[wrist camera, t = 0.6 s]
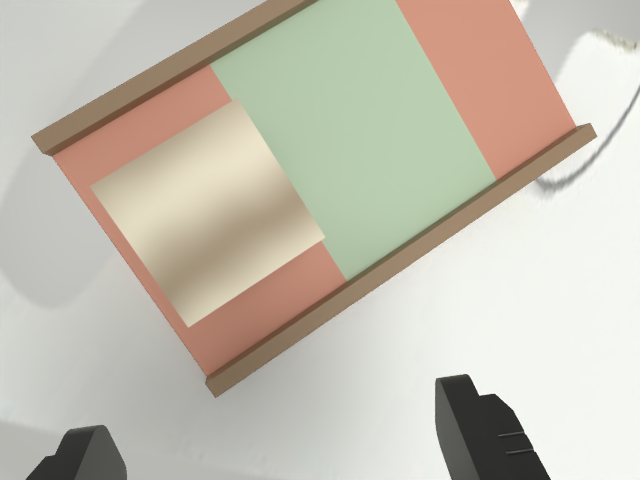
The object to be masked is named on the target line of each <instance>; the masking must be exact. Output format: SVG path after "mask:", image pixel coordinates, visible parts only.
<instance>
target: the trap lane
mask: <svg viewBox="0 0 640 480" xmlns="http://www.w3.org/2000/svg"><path fill="white" fill-rule="evenodd" d="M236 98H238V100H239V101H240V103H241V104H242V106H243V108H244V109H245V111H246V112H247V114H248V116H249V117H250V119H251V120H252V122H253V123H254V125H255V127H256V128H257V130H258V131H259V133H260V134H261V136H262V138H263V139H264V141H265V142H266V144H267V146H268V147H269V149H270V150H271V152H272V153H273V155H274V157H275V158H276V160H277V161H278V163H279V164H280V166H281V168H282V169H283V171H284V172H285V174H286V176H287V177H288V179H289V180H290V182H291V183H292V185H293V187H294V188H295V190H296V191H297V193H298V194H299V196H300V198H301V199H302V201H303V202H304V204H305V206H306V207H307V209H308V210H309V212H310V213H311V215H312V217H313V218H314V220H315V221H316V223H317V225H318V226H319V228H320V229H321V231H322V232H323V234H324V236H325V238H324V239H322V240H321V241H319V242H318V243H316V244H315V245H313V246H312V247H310V248H309V249H307V250H306V251H304V252H303V253H301V254H299V255H298V256H296V257H295V258H293V259H292V260H290V261H289V262H287V263H286V264H284V265H283V266H281V267H280V268H278V269H277V270H275V271H274V272H272V273H271V274H269V275H268V276H266V277H265V278H263V279H262V280H260V281H258V282H257V283H255V284H254V285H252V286H251V287H249V288H248V289H246V290H245V291H243V292H242V293H240V294H239V295H237V296H236V297H234V298H233V299H231V300H230V301H228V302H227V303H225V304H224V305H222V306H220V307H219V308H217V309H216V310H214V311H213V312H211V313H210V314H208V315H207V316H205V317H204V318H202V319H201V320H199V321H198V322H196V323H195V324H193V325H192V326H190V327H189V328H188V327H187V325H186V324H185V322H184V321H183V319H182V318H181V317H180V315H179V314H178V312H177V311H176V309H175V308H174V307H173V305H172V304H171V302H170V301H169V299H168V298H167V297H166V295H165V294H164V292H163V291H162V289H161V288H160V287H159V285H158V284H157V282H156V281H155V279H154V278H153V277H152V275H151V274H150V272H149V271H148V269H147V268H146V267H145V265H144V264H143V262H142V261H141V259H140V258H139V257H138V255H137V254H136V252H135V251H134V249H133V248H132V247H131V245H130V244H129V242H128V241H127V239H126V238H125V237H124V235H123V234H122V232H121V231H120V229H119V228H118V227H117V225H116V224H115V222H114V221H113V219H112V218H111V216H110V215H109V214H108V212H107V211H106V209H105V208H104V206H103V205H102V204H101V202H100V201H99V199H98V198H97V196H96V195H95V194H94V192H93V191H92V189H91V188H90V186H91V185H93V184H94V183H96V182H98V181H99V180H101V179H103V178H104V177H106V176H108V175H109V174H111V173H113V172H114V171H116V170H118V169H119V168H121V167H123V166H124V165H126V164H128V163H129V162H131V161H133V160H134V159H136V158H138V157H139V156H141V155H143V154H144V153H146V152H148V151H149V150H151V149H153V148H154V147H156V146H158V145H159V144H161V143H163V142H165V141H166V140H168V139H170V138H171V137H173V136H175V135H176V134H178V133H180V132H181V131H183V130H185V129H186V128H188V127H190V126H191V125H193V124H195V123H196V122H198V121H200V120H201V119H203V118H205V117H206V116H208V115H210V114H211V113H213V112H215V111H216V110H218V109H220V108H221V107H223V106H225V105H226V104H228V103H230V102H231V101H233V100H235V99H236ZM596 137H597V135H596V133H595V131H594V129H593V127H592V125H591V123H588V124H584V125H581V126H577V127H576V125H575V123H574V121H573V120H572V118H571V116H570V114H569V112H568V110H567V108H566V106H565V104H564V103H563V101H562V99H561V97H560V95H559V93H558V91H557V89H556V88H555V86H554V84H553V82H552V80H551V78H550V76H549V74H548V73H547V71H546V69H545V67H544V65H543V63H542V61H541V59H540V57H539V56H538V54H537V52H536V50H535V48H534V46H533V44H532V42H531V41H530V39H529V37H528V35H527V33H526V31H525V29H524V27H523V25H522V24H521V22H520V20H519V18H518V16H517V14H516V12H515V10H514V8H513V7H512V5H511V3H510V1H509V0H267V1H266V2H264V3H262V4H261V5H259V6H257V7H255V8H253V9H252V10H250V11H248V12H247V13H245V14H243V15H241V16H240V17H238V18H236V19H234V20H233V21H231V22H229V23H227V24H226V25H224V26H222V27H220V28H219V29H217V30H215V31H213V32H212V33H210V34H208V35H206V36H205V37H203V38H201V39H200V40H198V41H196V42H194V43H193V44H191V45H189V46H187V47H186V48H184V49H182V50H180V51H179V52H177V53H175V54H174V55H172V56H170V57H168V58H166V59H165V60H163V61H161V62H160V63H158V64H156V65H154V66H153V67H151V68H149V69H147V70H146V71H144V72H142V73H140V74H139V75H137V76H135V77H133V78H132V79H130V80H128V81H126V82H125V83H123V84H121V85H119V86H118V87H116V88H115V89H113V90H111V91H109V92H107V93H106V94H104V95H102V96H100V97H99V98H97V99H95V100H93V101H92V102H90V103H88V104H87V105H85V106H83V107H81V108H79V109H78V110H76V111H74V112H73V113H71V114H69V115H67V116H66V117H64V118H62V119H60V120H59V121H57V122H55V123H53V124H52V125H50V126H48V127H46V128H45V129H43V130H41V131H39V132H38V133H36V134H34V135H33V136H31V138H32V139H33V141H34V142H35V143H36V145H37V146H38V147H39V149H40V150H41V152H42V153H43V154H46V155H49V156H52V157H53V159H54V160H55V162H56V163H57V164H58V166H59V167H60V169H61V170H62V172H63V173H64V174H65V176H66V177H67V179H68V180H69V181H70V183H71V184H72V186H73V187H74V189H75V190H76V191H77V193H78V194H79V196H80V197H81V199H82V200H83V201H84V203H85V204H86V206H87V207H88V208H89V210H90V211H91V213H92V214H93V216H94V217H95V218H96V220H97V221H98V223H99V224H100V225H101V227H102V228H103V230H104V231H105V233H106V234H107V235H108V237H109V238H110V240H111V241H112V243H113V244H114V245H115V247H116V248H117V250H118V251H119V252H120V254H121V255H122V257H123V258H124V260H125V261H126V262H127V264H128V265H129V267H130V268H131V270H132V271H133V272H134V274H135V275H136V277H137V278H138V279H139V281H140V282H141V284H142V285H143V287H144V288H145V289H146V291H147V292H148V294H149V295H150V296H151V298H152V299H153V301H154V302H155V304H156V305H157V306H158V308H159V309H160V311H161V312H162V314H163V315H164V316H165V318H166V319H167V321H168V322H169V323H170V325H171V326H172V328H173V329H174V331H175V332H176V333H177V335H178V336H179V338H180V339H181V340H182V342H183V343H184V345H185V346H186V348H187V349H188V350H189V352H190V353H191V355H192V356H193V358H194V359H195V360H196V362H197V363H198V365H199V366H200V367H201V369H202V370H203V372H204V373H205V375H206V376H207V379H206V385H207V387H208V388H209V390H210V391H211V392H212V394H213V395H214V397H215V398H216V397H218V396H219V395H221V394H222V393H224V392H225V391H226V390H228V389H229V388H231V387H232V386H234V385H235V384H237V383H238V382H240V381H241V380H243V379H244V378H245V377H247V376H248V375H250V374H251V373H253V372H254V371H256V370H257V369H259V368H260V367H262V366H263V365H264V364H266V363H267V362H269V361H270V360H272V359H273V358H275V357H276V356H278V355H279V354H281V353H282V352H283V351H285V350H286V349H288V348H289V347H291V346H292V345H294V344H295V343H297V342H298V341H300V340H301V339H302V338H304V337H305V336H307V335H308V334H310V333H311V332H313V331H314V330H316V329H317V328H319V327H320V326H321V325H323V324H324V323H326V322H327V321H329V320H330V319H332V318H333V317H335V316H336V315H338V314H339V313H340V312H342V311H343V310H345V309H346V308H348V307H349V306H351V305H352V304H354V303H355V302H356V301H358V300H359V299H361V298H362V297H364V296H365V295H367V294H368V293H370V292H371V291H373V290H374V289H375V288H377V287H378V286H380V285H381V284H383V283H384V282H386V281H387V280H389V279H390V278H392V277H393V276H394V275H396V274H397V273H399V272H400V271H402V270H403V269H405V268H406V267H408V266H409V265H411V264H412V263H413V262H415V261H416V260H418V259H419V258H421V257H422V256H424V255H425V254H427V253H428V252H430V251H431V250H432V249H434V248H435V247H437V246H438V245H440V244H441V243H443V242H444V241H446V240H447V239H449V238H450V237H451V236H453V235H454V234H456V233H457V232H459V231H460V230H462V229H463V228H465V227H466V226H467V225H469V224H470V223H472V222H473V221H475V220H476V219H478V218H479V217H481V216H482V215H484V214H485V213H486V212H488V211H489V210H491V209H492V208H494V207H495V206H497V205H498V204H500V203H501V202H503V201H504V200H505V199H507V198H508V197H510V196H511V195H513V194H514V193H516V192H517V191H519V190H520V189H522V188H523V187H524V186H526V185H527V184H529V183H530V182H532V181H533V180H535V179H536V178H538V177H539V176H541V175H542V174H543V173H545V172H546V171H548V170H549V169H551V168H552V167H554V166H555V165H557V164H558V163H560V162H561V161H562V160H564V159H565V158H567V157H568V156H570V155H571V154H573V153H574V152H576V151H577V150H579V149H580V148H581V147H583V146H584V145H586V144H587V143H589V142H590V141H592V140H593V139H595V138H596Z"/></svg>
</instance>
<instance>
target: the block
mask: <svg viewBox="0 0 640 480" xmlns="http://www.w3.org/2000/svg"><path fill="white" fill-rule="evenodd" d="M90 188H91V189H92V191H93V192H94V194H95V195H96V196H97V198H98V199H99V201H100V202H101V204H102V205H103V206H104V208H105V209H106V211H107V212H108V214H109V215H110V216H111V218H112V219H113V221H114V222H115V224H116V225H117V227H118V228H119V229H120V231H121V232H122V234H123V235H124V237H125V238H126V239H127V241H128V242H129V244H130V245H131V247H132V248H133V249H134V251H135V252H136V254H137V255H138V257H139V258H140V259H141V261H142V262H143V264H144V265H145V267H146V268H147V269H148V271H149V272H150V274H151V275H152V277H153V278H154V279H155V281H156V282H157V284H158V285H159V287H160V288H161V289H162V291H163V292H164V294H165V295H166V297H167V298H168V299H169V301H170V302H171V304H172V305H173V307H174V308H175V309H176V311H177V312H178V314H179V315H180V317H181V318H182V319H183V321H184V322H185V324H186V325H187V327H188V328H189V327H190V326H192V325H193V324H195V323H196V322H198V321H199V320H201V319H202V318H204V317H205V316H207V315H208V314H210V313H211V312H213V311H214V310H216V309H217V308H219V307H220V306H222V305H224V304H225V303H227V302H228V301H230V300H231V299H233V298H234V297H236V296H237V295H239V294H240V293H242V292H243V291H245V290H246V289H248V288H249V287H251V286H252V285H254V284H255V283H257V282H258V281H260V280H262V279H263V278H265V277H266V276H268V275H269V274H271V273H272V272H274V271H275V270H277V269H278V268H280V267H281V266H283V265H284V264H286V263H287V262H289V261H290V260H292V259H293V258H295V257H296V256H298V255H299V254H301V253H303V252H304V251H306V250H307V249H309V248H310V247H312V246H313V245H315V244H316V243H318V242H319V241H321V240H322V239H324V238H325V236H324V234H323V232H322V231H321V229H320V228H319V226H318V225H317V223H316V221H315V220H314V218H313V217H312V215H311V213H310V212H309V210H308V209H307V207H306V206H305V204H304V202H303V201H302V199H301V198H300V196H299V194H298V193H297V191H296V190H295V188H294V187H293V185H292V183H291V182H290V180H289V179H288V177H287V176H286V174H285V172H284V171H283V169H282V168H281V166H280V164H279V163H278V161H277V160H276V158H275V157H274V155H273V153H272V152H271V150H270V149H269V147H268V146H267V144H266V142H265V141H264V139H263V138H262V136H261V134H260V133H259V131H258V130H257V128H256V127H255V125H254V123H253V122H252V120H251V119H250V117H249V116H248V114H247V112H246V111H245V109H244V108H243V106H242V104H241V103H240V101H239V100H238V98H236V99H235V100H233V101H231V102H230V103H228V104H226V105H225V106H223V107H221V108H220V109H218V110H216V111H215V112H213V113H211V114H210V115H208V116H206V117H205V118H203V119H201V120H200V121H198V122H196V123H195V124H193V125H191V126H190V127H188V128H186V129H185V130H183V131H181V132H180V133H178V134H176V135H175V136H173V137H171V138H170V139H168V140H166V141H165V142H163V143H161V144H159V145H158V146H156V147H154V148H153V149H151V150H149V151H148V152H146V153H144V154H143V155H141V156H139V157H138V158H136V159H134V160H133V161H131V162H129V163H128V164H126V165H124V166H123V167H121V168H119V169H118V170H116V171H114V172H113V173H111V174H109V175H108V176H106V177H104V178H103V179H101V180H99V181H98V182H96V183H94V184H93V185H91V186H90Z"/></svg>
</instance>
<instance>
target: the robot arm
mask: <svg viewBox="0 0 640 480" xmlns="http://www.w3.org/2000/svg"><path fill="white" fill-rule="evenodd" d="M435 423H436V431H437V436H438V440H439V444H440V447H441V450H442V453H443V456H444V459H445V462H446V465H447V468H448V471H449V474H450V476H451V479H452V480H551V479H550V477H549V475H548V474H547V472H546V470H545V468H544V466H543V464H542V463H541V461H540V459H539V457H538V455H537V453H536V452H534V449H533V446H532V444H531V442H530V440H529V439H528V437H527V435H525V433H524V429H523V428H522V426H521V424H520V422H519V420H518V418H517V417H516V415H515V413H514V411H513V410H512V409H511V408H510V407H509V406H508V405H507V404H506V403H504V402H503V401H502V400H501V399H500V398H499V397H498V396H497V395H496V394H489V395H482V396H479V394H478V392H477V390H476V388H475V386H474V384H473V382H472V380H471V378H470V377H469V375H467V374H463V375H456V376H449V377H442V378H437V379H436V382H435ZM26 480H127V473H126V466H125V464H124V461H123V459H122V457H121V455H120V453H119V451H118V449H117V447H116V445H115V443H114V441H113V439H112V437H111V435H110V433H109V431H108V429H107V428H106V427H105V426H104V425H97V426H90V427H83V428H76V429H70V430H68V431H67V432H66V434H65V435H64V437H63V439H62V441H61V443H60V445H59V447H58V449H57V451H56V454H55V455H53V456H47V457H45V458H44V459H43V460H42V461H41V463H40V464H39V465H38V466H37V467H36V468H35V470H34V471H33V472H32V473H31V474H30V475H29V476H28V477H27V479H26Z"/></svg>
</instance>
